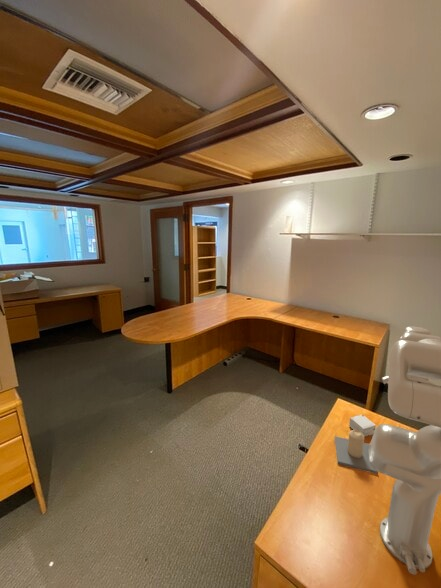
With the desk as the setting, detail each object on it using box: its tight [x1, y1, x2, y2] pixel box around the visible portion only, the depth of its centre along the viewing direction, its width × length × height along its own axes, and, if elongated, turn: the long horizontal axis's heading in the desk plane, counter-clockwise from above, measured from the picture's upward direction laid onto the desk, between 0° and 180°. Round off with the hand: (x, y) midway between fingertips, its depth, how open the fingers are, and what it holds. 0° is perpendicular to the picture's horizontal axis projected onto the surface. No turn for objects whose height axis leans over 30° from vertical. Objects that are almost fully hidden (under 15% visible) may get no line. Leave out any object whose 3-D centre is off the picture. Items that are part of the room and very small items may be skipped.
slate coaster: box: [334, 435, 379, 475], centre depth 105 cm, size 14×14×1 cm
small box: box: [348, 414, 377, 438], centre depth 118 cm, size 8×8×5 cm
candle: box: [347, 429, 365, 458], centre depth 103 cm, size 6×6×10 cm
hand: (405, 402), depth 94 cm, fingers open, 9 cm apart
